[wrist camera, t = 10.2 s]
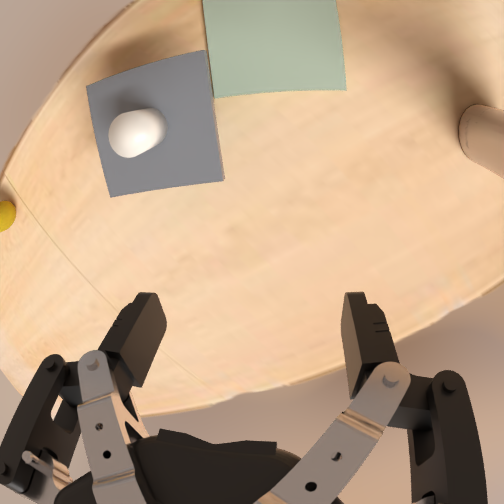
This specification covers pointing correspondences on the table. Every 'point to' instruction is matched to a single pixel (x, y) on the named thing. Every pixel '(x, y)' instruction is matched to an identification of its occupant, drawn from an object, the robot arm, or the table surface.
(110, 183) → the lid
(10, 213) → the lemon
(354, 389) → the robot arm
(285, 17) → the mat
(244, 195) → the table surface
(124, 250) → the table surface
